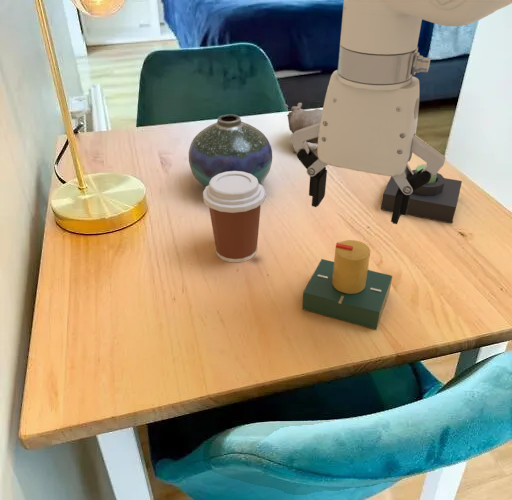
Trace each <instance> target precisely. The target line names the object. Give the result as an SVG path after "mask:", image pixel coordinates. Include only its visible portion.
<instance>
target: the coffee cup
mask: <svg viewBox="0 0 512 500" xmlns="http://www.w3.org/2000/svg"><path fill="white" fill-rule="evenodd" d="M266 197H267V195H266V190H265V187H264V185H262V184H259V183H258V180H257V178H256V177H254V176H253V175H252V174H249V173H246V172H242V171H228V172H223V173H220V174H218V175H216V176H214V177H213V178H212V179H211V180H210V182H209V185H208V186H206V188H205V187H204V190H203V191H202V199H203V203H204V204H205V205H206V206H208V210H209V216H210V223H211V226H212V233H213V239H214V244H215V245H214V246H215V253H216V256H217V257H218V258H219V259H220V260H223V261H225V262H227V263H235V264H236V263H243V262H247V261H249V260H251V259H252V258H254V257H255V256H256V254H257V251H258V240H259V230H260V229H259V228H260V220H261V219H260V217H261V206H262V205H263V204H264V202H265V199H266Z"/></svg>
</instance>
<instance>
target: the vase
mask: <svg viewBox="0 0 512 500" xmlns="http://www.w3.org/2000/svg"><path fill="white" fill-rule="evenodd" d="M216 121H217V122H215V123H212V124H210V125H208V126H207V127H205V128H204V129H202V130H200V131H199V132H198V133H197V134H196V135H195V136H194V138H193V140H192V141H191V143H190V146H189V149H188V163H189V167H190V170H191V172H192V175H193V176H194V178H195V180H196V181H198V183H199V184H200V185H201V186H202V187H204V189H205V188H206V186H208V185H209V182H210V180H211V179H212V178H213V177H214V176H216V175H218V174H220V173H223V172H228V171H242V172H246V173H249V174H252V175H253V176H254V177H256V178H257V180H258V183H259V184H260V185H262V183H263V182H264V180H265V179H266V178H267V176H268V175H269V173H270V171H271V167H272V164H273V148H272V145H271V143H270V141H269V139H268V137H267V136H266V135H265V134H264V133H263V132H262V131H260V130H259V129H258V128H256V127H254V126H253V125H250V124H249V123H247V122H243V121H242V119H241V117H240V116H239V115H237V114H232V113H231V114H228V113H227V114H222V115H219V116H218V117H217V120H216Z"/></svg>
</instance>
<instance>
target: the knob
mask: <svg viewBox="0 0 512 500" xmlns="http://www.w3.org/2000/svg"><path fill="white" fill-rule="evenodd" d="M370 257H371V248H370V247H369V246H368V244H366V243H364V242H362V241H360V240H354V239H347V240H342V241H340V242H337V243H336V244H335V248H334V258H333V262H334V267H333V277H332V284H333V286H334V288H335V289H337V290H338V291H340V292H343V293H347V294H355V293H359V292H361V291H362V290H363V289H364V288H365V286H366V279H367V272H368V270H369V266H370Z"/></svg>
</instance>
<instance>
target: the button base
mask: <svg viewBox="0 0 512 500" xmlns="http://www.w3.org/2000/svg"><path fill="white" fill-rule="evenodd" d="M411 170H412V172H413V173H415V171H416V169H411ZM462 183H463V181H462V180H458V179H452V178H446V177H444V176H443V175H442V174H441V173H439V172H437V177H436V181H435V182H434V183H429V184H424V185H423V186H421V187H419V188H418V189H416V190H414V191H413V192H412V193H411V196H410V201H409V206H408V211H407V214H406V216H413V217H418V218H423V219H428V220H433V221H437V222H443V223H448V224H453V221H454V218H455V214H456V210H457V205H458V201H459V197H460V192H461V187H462ZM398 189H399V186H398V185H397V183H396V182H395V180H394V179H393V177H392V176H390V178H389V180H388V182H387V184H386V186H385V189H384V191H383V193H382V196H381V197H382V198H381V204H380V210H383V211H388V212H391V213H393V208H394V202H395V197H396V193H397V191H398Z"/></svg>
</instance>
